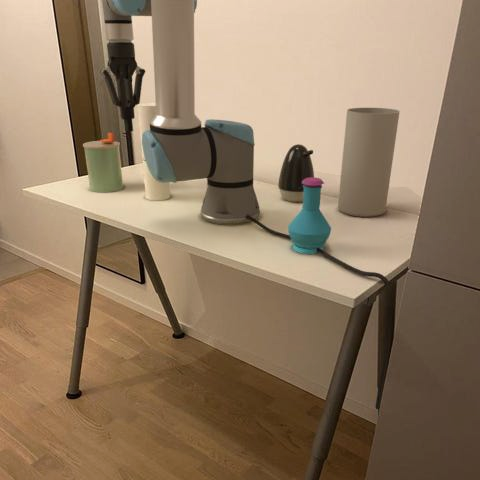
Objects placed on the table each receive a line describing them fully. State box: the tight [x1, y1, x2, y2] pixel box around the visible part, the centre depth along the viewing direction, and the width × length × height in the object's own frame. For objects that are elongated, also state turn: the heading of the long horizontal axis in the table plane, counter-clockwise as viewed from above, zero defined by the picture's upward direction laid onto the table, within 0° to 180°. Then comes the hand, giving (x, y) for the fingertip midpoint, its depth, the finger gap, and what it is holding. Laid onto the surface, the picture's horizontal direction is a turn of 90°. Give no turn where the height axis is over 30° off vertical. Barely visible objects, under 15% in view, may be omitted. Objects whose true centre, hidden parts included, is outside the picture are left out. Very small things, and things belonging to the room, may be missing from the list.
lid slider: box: [99, 132, 116, 143], centre depth 150 cm, size 4×3×2 cm
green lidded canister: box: [82, 140, 124, 193], centre depth 153 cm, size 11×11×13 cm
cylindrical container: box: [137, 102, 171, 201], centre depth 141 cm, size 7×7×25 cm
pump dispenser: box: [278, 143, 315, 203], centre depth 141 cm, size 10×10×15 cm
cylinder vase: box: [337, 107, 401, 218], centre depth 129 cm, size 12×12×25 cm
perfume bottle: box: [287, 177, 332, 255], centre depth 107 cm, size 9×9×15 cm
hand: (129, 130), depth 153 cm, fingers closed
